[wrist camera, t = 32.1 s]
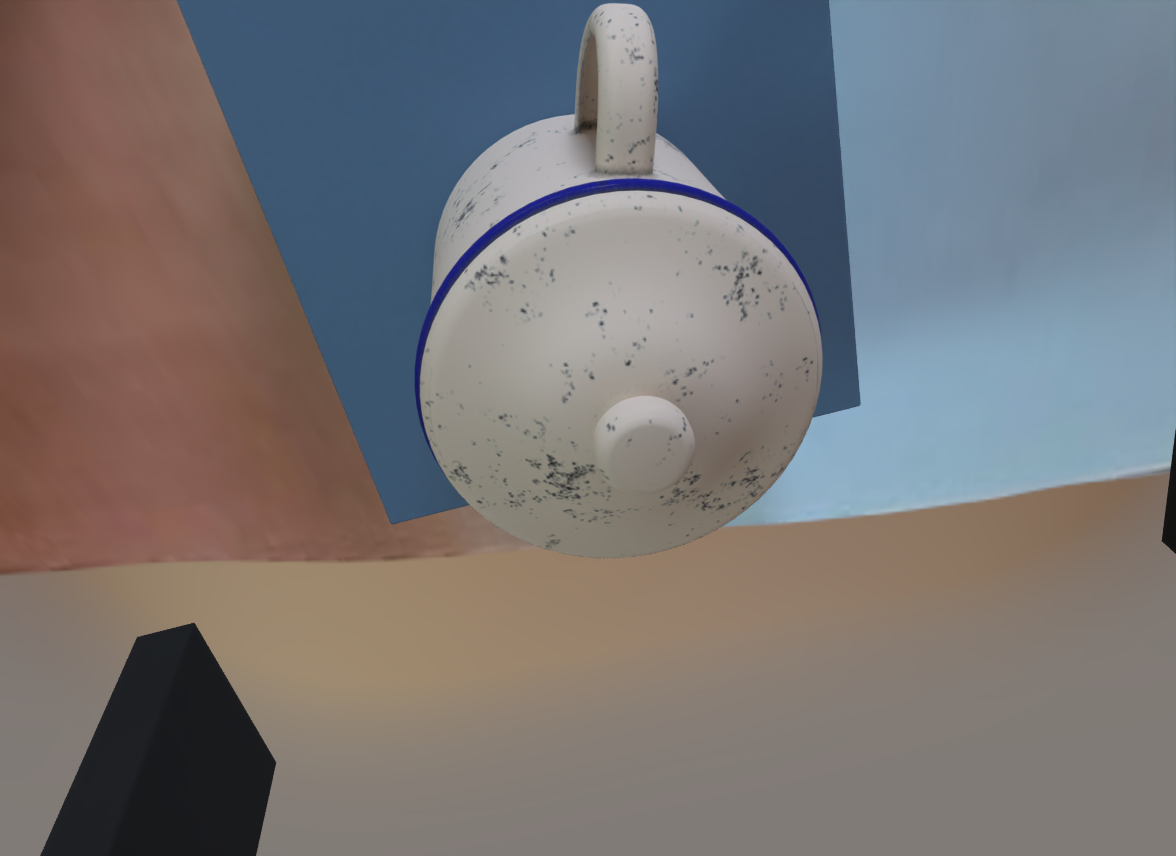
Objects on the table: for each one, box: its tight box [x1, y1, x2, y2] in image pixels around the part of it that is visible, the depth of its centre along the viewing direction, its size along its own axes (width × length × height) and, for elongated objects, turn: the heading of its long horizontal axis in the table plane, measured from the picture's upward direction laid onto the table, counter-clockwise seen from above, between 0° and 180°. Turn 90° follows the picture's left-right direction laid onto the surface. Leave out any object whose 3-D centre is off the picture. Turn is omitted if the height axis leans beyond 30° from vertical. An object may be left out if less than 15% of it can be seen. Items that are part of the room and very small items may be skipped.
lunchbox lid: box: [177, 0, 860, 524], centre depth 28 cm, size 17×17×1 cm
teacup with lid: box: [414, 3, 822, 558], centre depth 22 cm, size 12×9×12 cm
